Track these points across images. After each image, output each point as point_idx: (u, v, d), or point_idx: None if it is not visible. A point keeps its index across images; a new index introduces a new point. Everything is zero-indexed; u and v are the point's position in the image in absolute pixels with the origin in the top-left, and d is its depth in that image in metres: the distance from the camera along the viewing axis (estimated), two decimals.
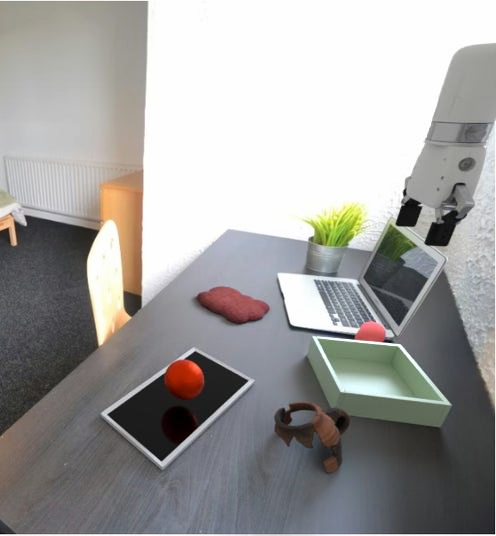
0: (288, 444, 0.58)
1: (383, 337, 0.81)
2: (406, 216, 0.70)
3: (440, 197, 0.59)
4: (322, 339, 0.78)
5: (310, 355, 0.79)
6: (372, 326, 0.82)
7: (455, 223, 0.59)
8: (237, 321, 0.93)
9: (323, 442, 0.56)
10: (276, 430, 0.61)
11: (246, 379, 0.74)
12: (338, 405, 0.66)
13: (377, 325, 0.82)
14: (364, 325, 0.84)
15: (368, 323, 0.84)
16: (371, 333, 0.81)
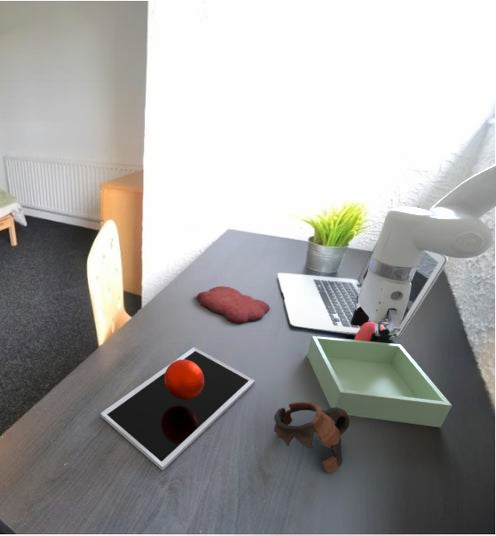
0: (288, 444, 0.58)
1: None
2: (358, 318, 0.87)
3: (378, 316, 0.77)
4: (322, 339, 0.78)
5: (310, 355, 0.79)
6: (372, 326, 0.82)
7: (388, 337, 0.77)
8: (237, 321, 0.93)
9: (323, 442, 0.56)
10: (276, 430, 0.61)
11: (246, 379, 0.74)
12: (338, 405, 0.66)
13: None
14: (364, 325, 0.84)
15: (368, 323, 0.84)
16: (371, 333, 0.81)
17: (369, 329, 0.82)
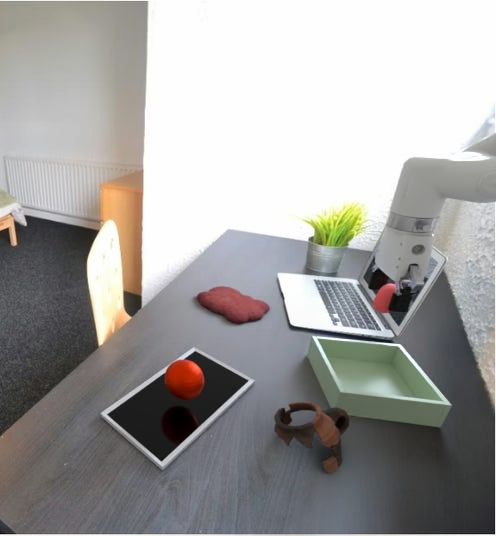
0: (288, 444, 0.58)
1: None
2: (376, 281, 0.82)
3: (399, 274, 0.72)
4: (322, 339, 0.78)
5: (310, 355, 0.79)
6: (392, 287, 0.77)
7: (411, 295, 0.72)
8: (237, 321, 0.93)
9: (323, 442, 0.56)
10: (276, 430, 0.61)
11: (246, 379, 0.74)
12: (338, 405, 0.66)
13: None
14: (383, 287, 0.79)
15: (387, 285, 0.79)
16: (391, 294, 0.76)
17: (389, 290, 0.77)
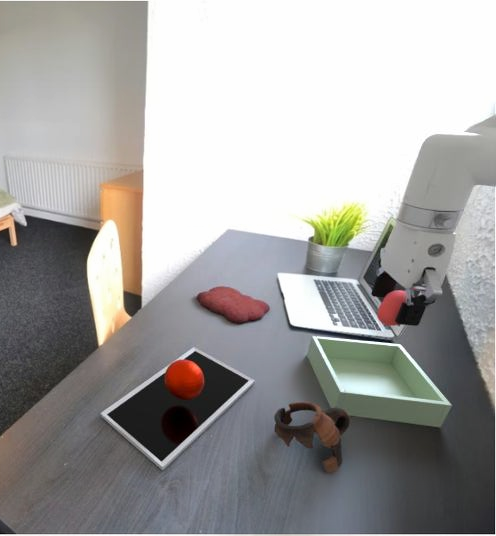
0: (288, 444, 0.58)
1: None
2: (381, 287, 0.69)
3: (411, 279, 0.59)
4: (322, 339, 0.78)
5: (310, 355, 0.79)
6: (401, 294, 0.64)
7: (424, 306, 0.59)
8: (237, 321, 0.93)
9: (323, 442, 0.56)
10: (276, 430, 0.61)
11: (246, 379, 0.74)
12: (338, 405, 0.66)
13: None
14: (390, 294, 0.66)
15: (395, 292, 0.66)
16: (400, 303, 0.63)
17: (397, 298, 0.64)
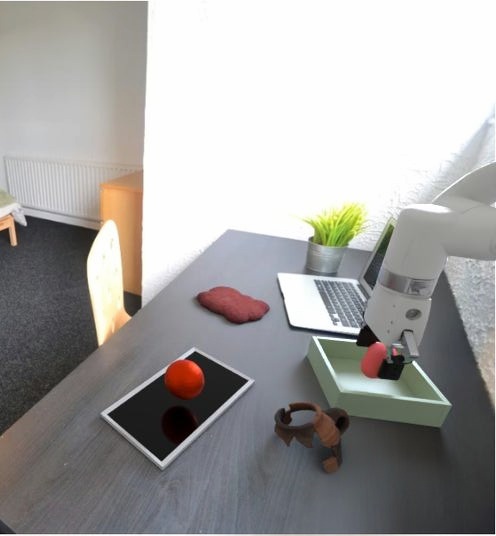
0: (288, 444, 0.58)
1: None
2: (365, 338, 0.73)
3: (390, 339, 0.62)
4: (322, 339, 0.78)
5: (310, 355, 0.79)
6: (382, 349, 0.68)
7: (403, 364, 0.63)
8: (237, 321, 0.93)
9: (323, 442, 0.56)
10: (276, 430, 0.61)
11: (246, 379, 0.74)
12: (338, 405, 0.66)
13: None
14: (372, 348, 0.69)
15: (377, 345, 0.69)
16: (381, 358, 0.66)
17: (378, 353, 0.67)
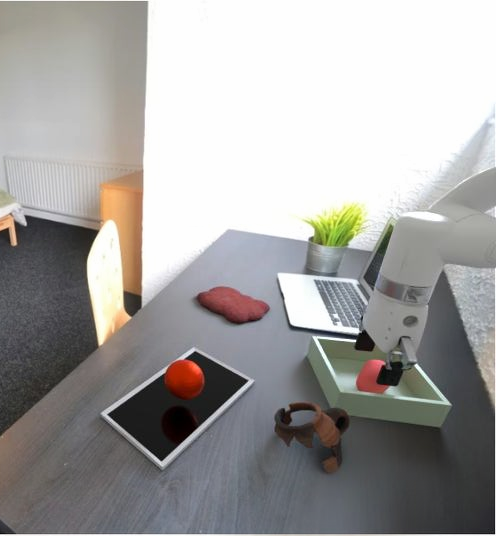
0: (288, 444, 0.58)
1: None
2: (363, 342, 0.73)
3: (388, 346, 0.63)
4: (322, 339, 0.78)
5: (310, 355, 0.79)
6: (377, 366, 0.70)
7: (402, 370, 0.63)
8: (237, 321, 0.93)
9: (323, 442, 0.56)
10: (276, 430, 0.61)
11: (246, 379, 0.74)
12: (338, 405, 0.66)
13: None
14: (368, 364, 0.71)
15: (373, 362, 0.71)
16: (376, 376, 0.68)
17: (374, 370, 0.69)
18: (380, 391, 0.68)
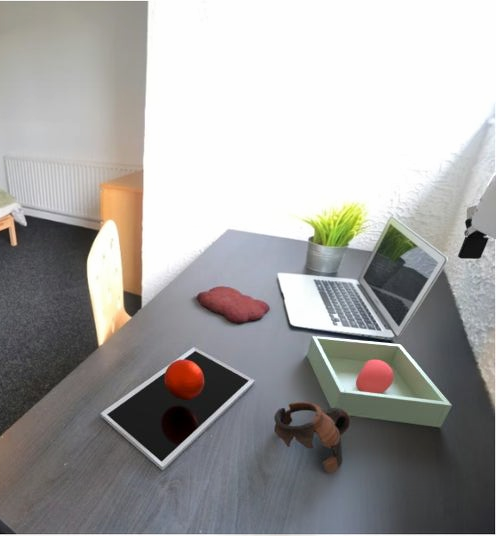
0: (288, 444, 0.58)
1: (390, 380, 0.68)
2: (471, 248, 0.66)
3: None
4: (322, 339, 0.78)
5: (310, 355, 0.79)
6: (377, 366, 0.70)
7: None
8: (237, 321, 0.93)
9: (323, 442, 0.56)
10: (276, 430, 0.61)
11: (246, 379, 0.74)
12: (338, 405, 0.66)
13: (383, 365, 0.70)
14: (368, 364, 0.71)
15: (373, 362, 0.71)
16: (376, 376, 0.68)
17: (374, 370, 0.69)
18: (380, 391, 0.68)
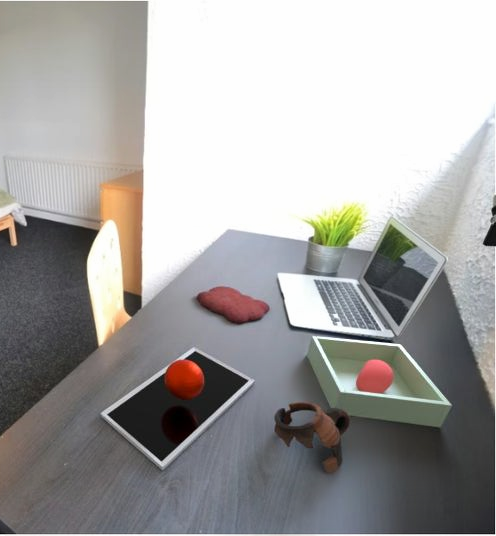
0: (288, 444, 0.58)
1: (390, 380, 0.68)
2: None
3: None
4: (322, 339, 0.78)
5: (310, 355, 0.79)
6: (377, 366, 0.70)
7: None
8: (237, 321, 0.93)
9: (323, 442, 0.56)
10: (276, 430, 0.61)
11: (246, 379, 0.74)
12: (338, 405, 0.66)
13: (383, 365, 0.70)
14: (368, 364, 0.71)
15: (373, 362, 0.71)
16: (376, 376, 0.68)
17: (374, 370, 0.69)
18: (380, 391, 0.68)
